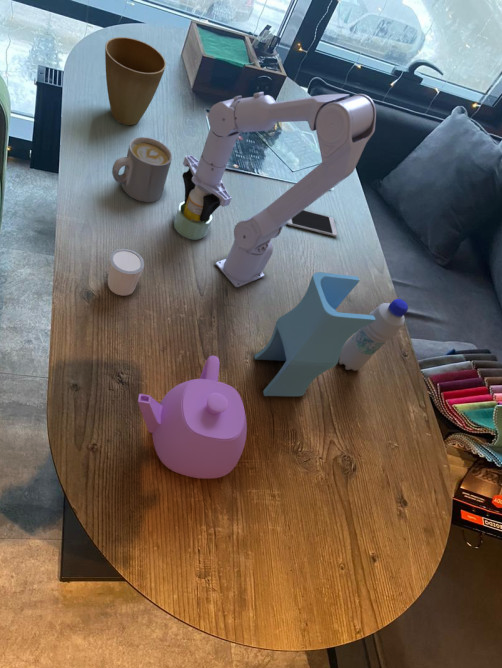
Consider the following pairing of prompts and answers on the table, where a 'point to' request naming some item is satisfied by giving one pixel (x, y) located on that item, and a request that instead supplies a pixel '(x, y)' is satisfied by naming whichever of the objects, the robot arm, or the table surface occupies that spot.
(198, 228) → the cup
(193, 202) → the supplement bottle
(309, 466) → the table surface
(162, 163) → the coffee mug
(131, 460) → the table surface
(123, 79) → the plant pot
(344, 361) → the bottle
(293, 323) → the blue tall flared piece
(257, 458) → the table surface
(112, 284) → the white round canister
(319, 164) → the robot arm
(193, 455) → the teapot
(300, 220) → the smartphone
